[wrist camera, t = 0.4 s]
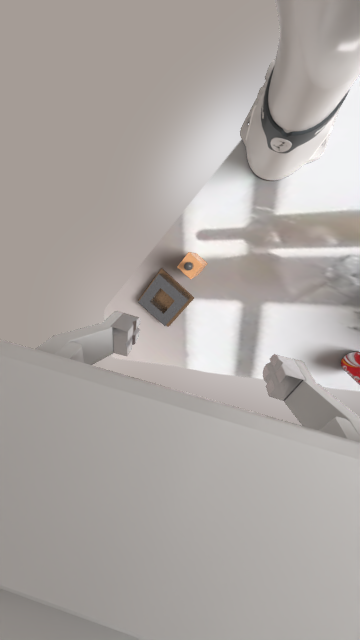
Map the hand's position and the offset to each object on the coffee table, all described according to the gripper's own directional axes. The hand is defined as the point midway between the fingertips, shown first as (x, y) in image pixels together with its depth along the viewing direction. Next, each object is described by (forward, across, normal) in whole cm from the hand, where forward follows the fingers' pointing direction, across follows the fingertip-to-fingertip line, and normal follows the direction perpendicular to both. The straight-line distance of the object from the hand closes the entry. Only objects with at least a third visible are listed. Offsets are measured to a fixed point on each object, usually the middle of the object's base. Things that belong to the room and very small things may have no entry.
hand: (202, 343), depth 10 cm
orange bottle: (+45, +3, +6) cm, 45 cm away
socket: (+43, +10, +20) cm, 49 cm away
